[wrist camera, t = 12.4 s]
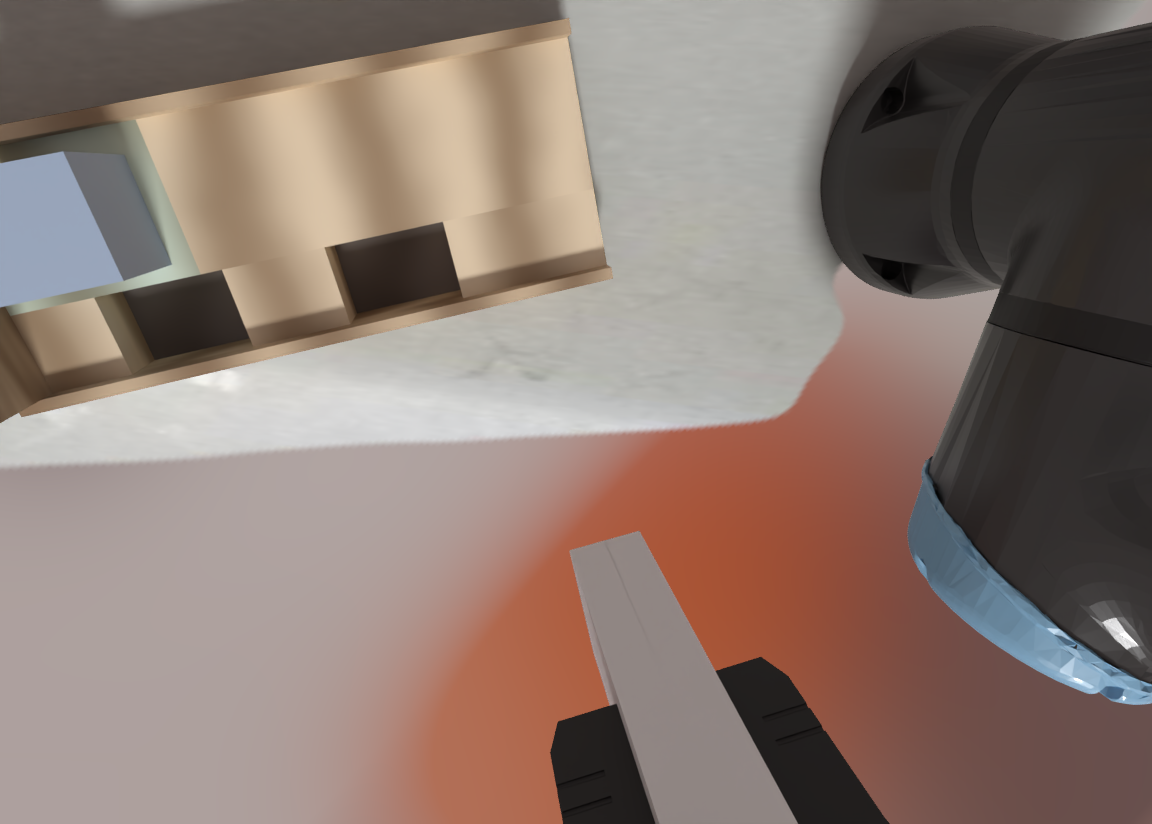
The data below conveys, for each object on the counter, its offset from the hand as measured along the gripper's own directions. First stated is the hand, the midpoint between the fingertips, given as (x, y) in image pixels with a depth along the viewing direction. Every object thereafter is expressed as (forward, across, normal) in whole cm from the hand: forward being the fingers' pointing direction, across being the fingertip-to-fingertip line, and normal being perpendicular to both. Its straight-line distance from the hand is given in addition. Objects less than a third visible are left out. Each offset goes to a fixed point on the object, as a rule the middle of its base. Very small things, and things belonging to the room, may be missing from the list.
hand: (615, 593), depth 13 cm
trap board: (+26, +9, -8) cm, 29 cm away
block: (+23, +18, -10) cm, 31 cm away
